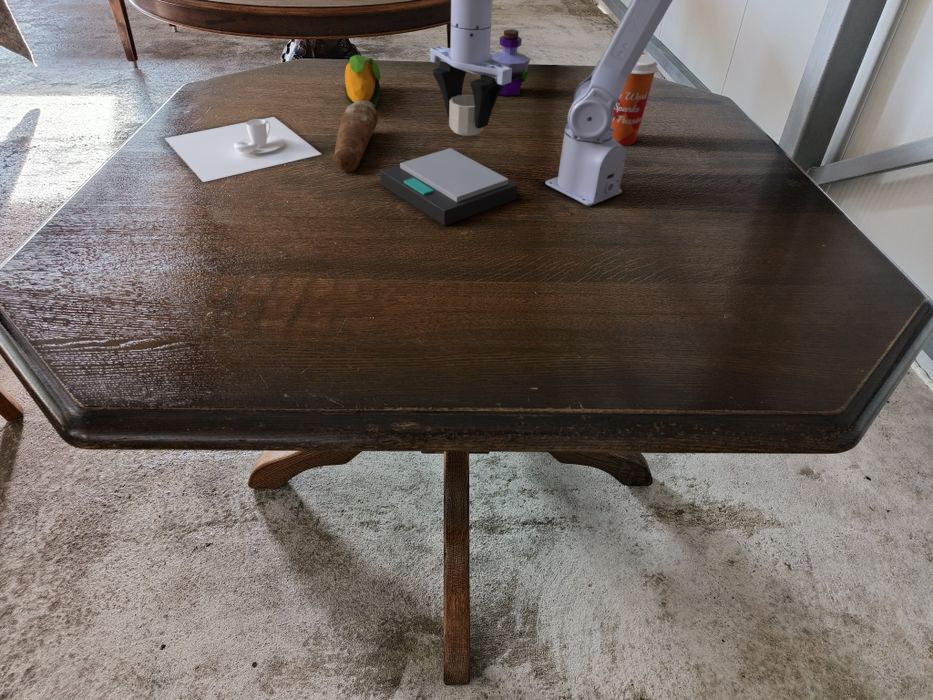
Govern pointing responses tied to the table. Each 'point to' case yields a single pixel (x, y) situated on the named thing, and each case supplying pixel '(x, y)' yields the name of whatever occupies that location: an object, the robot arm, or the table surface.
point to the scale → (448, 186)
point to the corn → (362, 80)
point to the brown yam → (354, 134)
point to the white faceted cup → (463, 115)
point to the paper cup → (633, 101)
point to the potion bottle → (512, 62)
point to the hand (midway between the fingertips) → (467, 121)
